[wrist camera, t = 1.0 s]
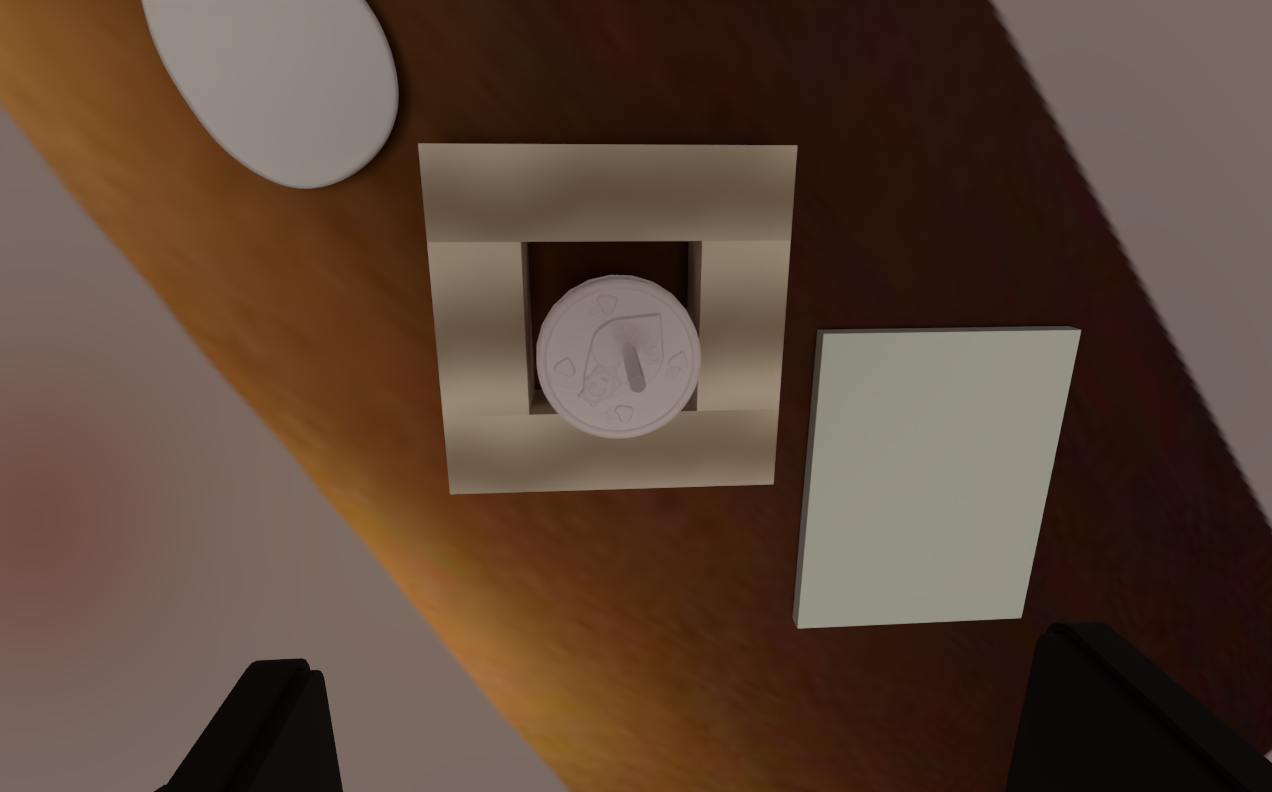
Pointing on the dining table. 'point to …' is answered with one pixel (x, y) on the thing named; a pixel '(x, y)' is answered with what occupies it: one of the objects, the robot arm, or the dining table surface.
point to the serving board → (928, 471)
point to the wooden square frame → (607, 211)
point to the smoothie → (618, 356)
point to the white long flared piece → (282, 81)
